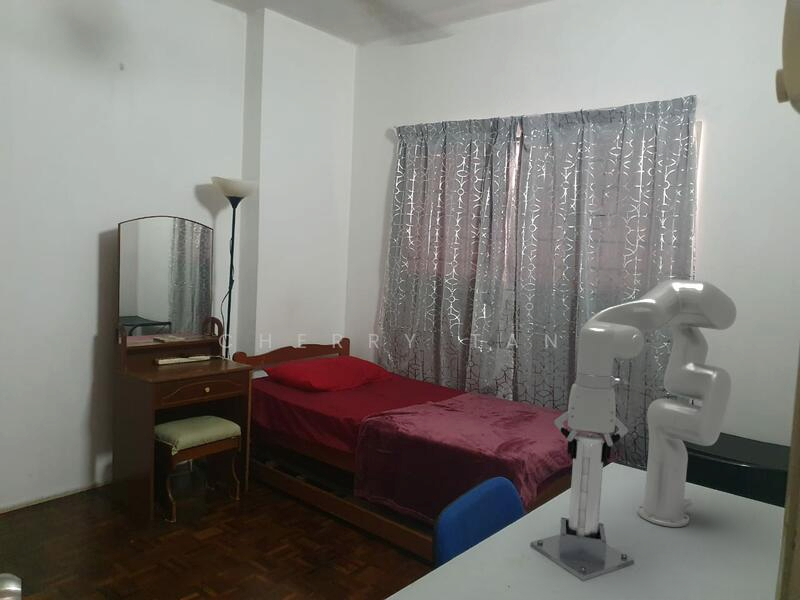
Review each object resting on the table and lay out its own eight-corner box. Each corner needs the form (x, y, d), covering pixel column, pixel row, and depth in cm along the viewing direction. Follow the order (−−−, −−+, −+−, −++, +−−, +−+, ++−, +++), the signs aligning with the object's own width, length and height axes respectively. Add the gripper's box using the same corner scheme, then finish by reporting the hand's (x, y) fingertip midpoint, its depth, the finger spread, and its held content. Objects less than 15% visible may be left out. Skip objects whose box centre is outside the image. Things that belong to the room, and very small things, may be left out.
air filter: (603, 545, 132) (611, 437, 130) (584, 552, 129) (592, 441, 127) (580, 533, 138) (587, 429, 136) (561, 539, 134) (568, 433, 132)
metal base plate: (579, 532, 144) (580, 509, 144) (633, 563, 131) (635, 537, 130) (530, 546, 136) (532, 521, 136) (583, 580, 123) (585, 553, 122)
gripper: (633, 381, 132) (627, 459, 133) (553, 374, 136) (548, 449, 138) (637, 388, 125) (631, 470, 126) (553, 380, 129) (548, 459, 130)
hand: (588, 458), depth 132 cm, fingers closed on air filter, 6 cm apart
